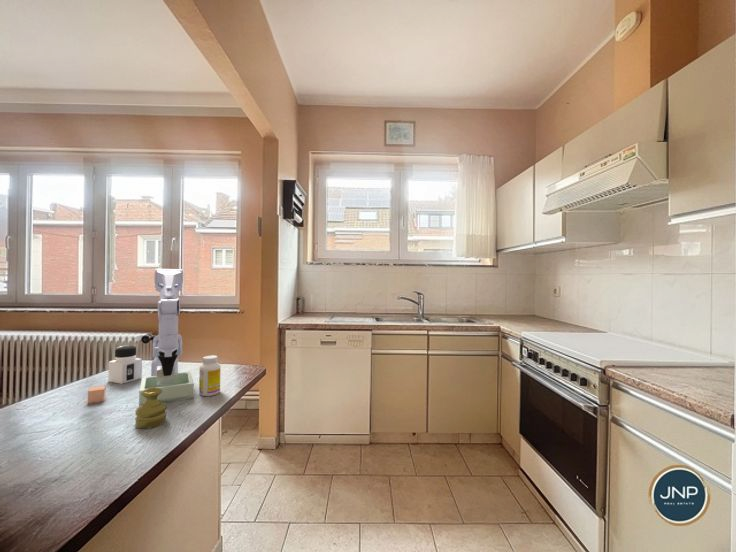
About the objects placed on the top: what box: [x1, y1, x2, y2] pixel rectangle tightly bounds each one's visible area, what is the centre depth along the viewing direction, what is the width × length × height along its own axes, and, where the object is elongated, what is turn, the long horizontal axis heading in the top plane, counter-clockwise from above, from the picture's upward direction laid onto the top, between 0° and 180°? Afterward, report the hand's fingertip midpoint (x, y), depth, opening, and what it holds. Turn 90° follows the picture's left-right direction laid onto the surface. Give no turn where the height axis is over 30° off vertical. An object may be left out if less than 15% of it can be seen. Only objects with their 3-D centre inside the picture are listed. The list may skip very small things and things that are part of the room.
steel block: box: [157, 366, 174, 385], centre depth 113 cm, size 5×5×5 cm
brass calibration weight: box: [135, 387, 168, 429], centre depth 92 cm, size 7×7×10 cm
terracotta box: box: [87, 385, 107, 404], centre depth 107 cm, size 4×4×4 cm
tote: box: [138, 371, 195, 407], centre depth 113 cm, size 15×15×5 cm
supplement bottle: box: [198, 354, 221, 397], centre depth 115 cm, size 7×7×13 cm
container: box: [107, 344, 143, 385], centre depth 127 cm, size 8×8×13 cm
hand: (167, 373), depth 113 cm, fingers closed on steel block, 5 cm apart
